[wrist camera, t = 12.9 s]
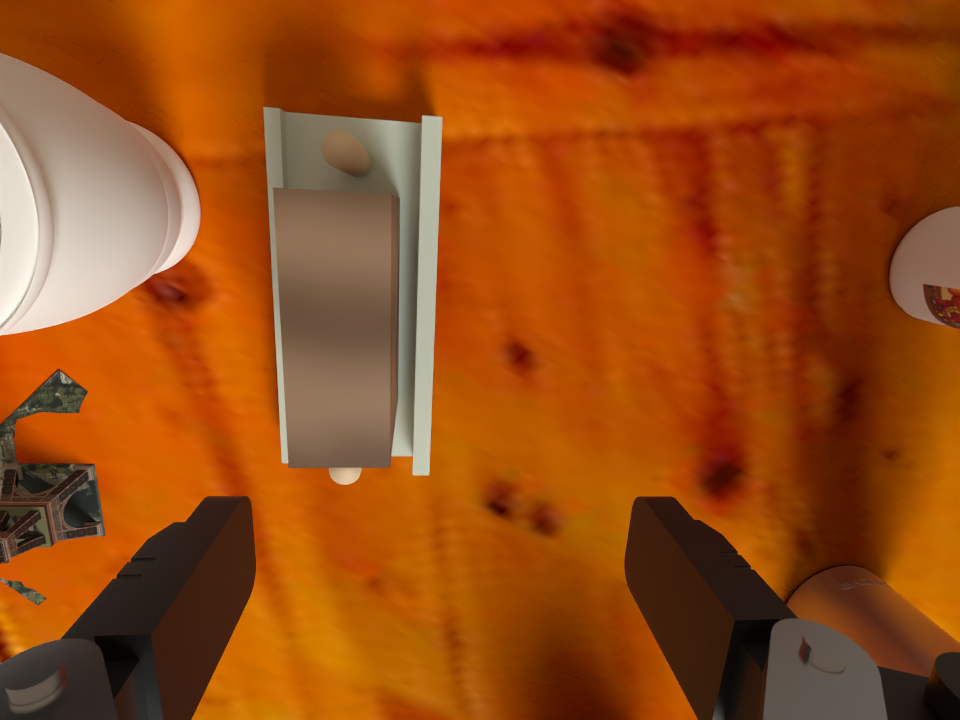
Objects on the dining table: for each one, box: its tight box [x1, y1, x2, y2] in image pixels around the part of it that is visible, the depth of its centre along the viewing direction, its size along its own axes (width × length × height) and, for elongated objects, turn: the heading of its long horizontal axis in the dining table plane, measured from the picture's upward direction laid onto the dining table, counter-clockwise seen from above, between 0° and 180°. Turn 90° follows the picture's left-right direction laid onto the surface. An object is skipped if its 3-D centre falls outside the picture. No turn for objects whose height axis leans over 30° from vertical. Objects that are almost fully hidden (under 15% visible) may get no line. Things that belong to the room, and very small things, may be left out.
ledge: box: [263, 107, 442, 485], centre depth 28 cm, size 20×9×8 cm, turn 176°
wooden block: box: [273, 187, 400, 468], centre depth 26 cm, size 12×5×9 cm, turn 177°
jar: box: [0, 53, 201, 336], centre depth 21 cm, size 11×10×15 cm
